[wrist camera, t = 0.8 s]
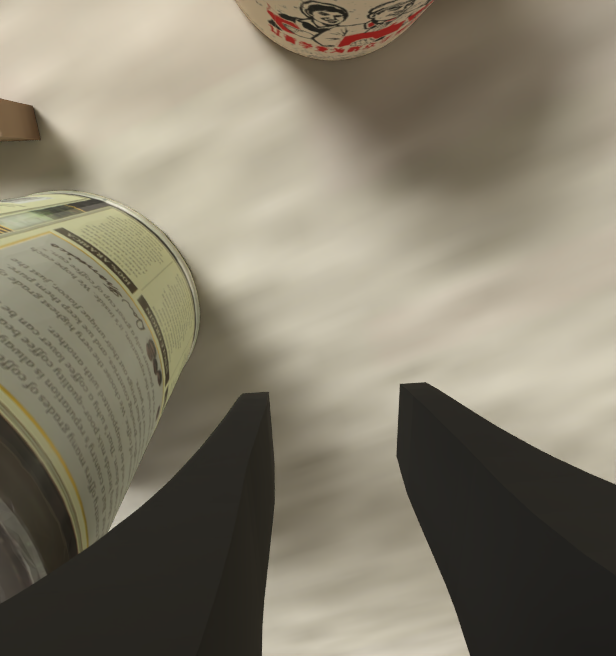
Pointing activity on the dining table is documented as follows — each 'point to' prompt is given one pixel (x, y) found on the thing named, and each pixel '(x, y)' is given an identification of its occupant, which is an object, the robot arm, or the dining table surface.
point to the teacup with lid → (333, 24)
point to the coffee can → (80, 368)
